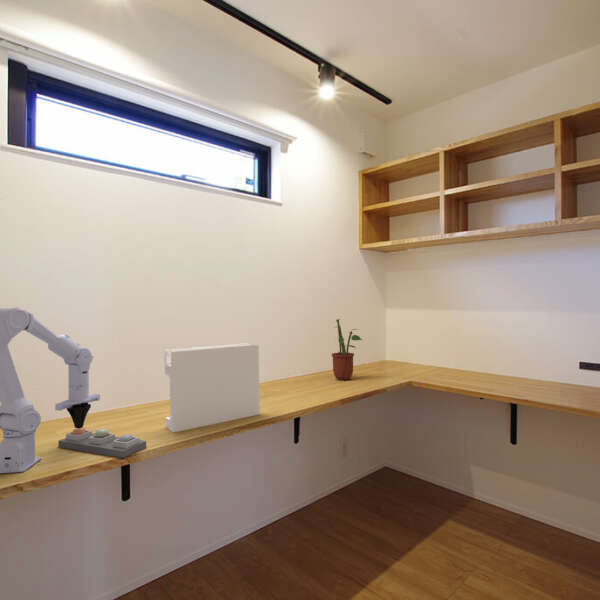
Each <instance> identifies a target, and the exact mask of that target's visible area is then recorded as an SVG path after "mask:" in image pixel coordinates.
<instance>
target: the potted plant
mask: <svg viewBox="0 0 600 600" xmlns="http://www.w3.org/2000/svg"><path fill="white" fill-rule="evenodd" d="M340 320H341V319H339V318H338V319H336V321H335V322H336V324H337V326H335V327H334V329H335V328H337V333H338V338H337V337H335V338H334V340H336V339H337V340H338V341H337V342H338V343H339V344H338V345H339V351H338V352H332V353H331V357H332V371H333V376H334V377H335V378H336V379H337V380H338V381H348V380H350V379H351V378H352V376H353V373H354V357H355V353H353V352H349V347H351V348H354V349H356V346H355V345H350V342H351V341H356V342H357V341H363V339H362V338H361V337H360V335H356V334H353V331H354V330H358V331H359V329H357V328H353V329H352V330H350V332H348V333H349V335H348V340H347V344H345V338H344V337H343V335H342V329H341V325H340Z"/></svg>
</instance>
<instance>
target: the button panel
mask: <svg viewBox="0 0 600 600" xmlns="http://www.w3.org/2000/svg"><path fill="white" fill-rule="evenodd" d="M57 444H58V445H57V446H58V448H63V449H66V450H67V449H69V450H73V451H74V450H75V451H80V452H85V453H91V454H92V453H93V454H98V455H101V456H102V455H103V456H104V455H105V456H110V457H114V458H121V459H124V458H127V457H129V456H131V455H133V454H136V453H138V452H139V451H142V450H145V449H147V441H146V440H140V437H138V436H133V440H130V441H128V442H121V441H120V436H116V434H115V433H112V432H111V433H109V432H108V435H107V436H103V437H96V436H95V433H94V432H93V431H92V430H90V429H89V430H88V429H85V433H83V434H80V435H74V434H73V431H70V432H68V433H66V434H65V438H63V439H60V440H58V443H57Z"/></svg>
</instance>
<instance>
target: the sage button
mask: <svg viewBox="0 0 600 600" xmlns="http://www.w3.org/2000/svg"><path fill="white" fill-rule="evenodd" d="M108 433H109V428H106V427H105V428H100V429H99V428H98V429H96V430H95V433H94V434H95V436H96V437H103V436H107V435H108Z"/></svg>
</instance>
